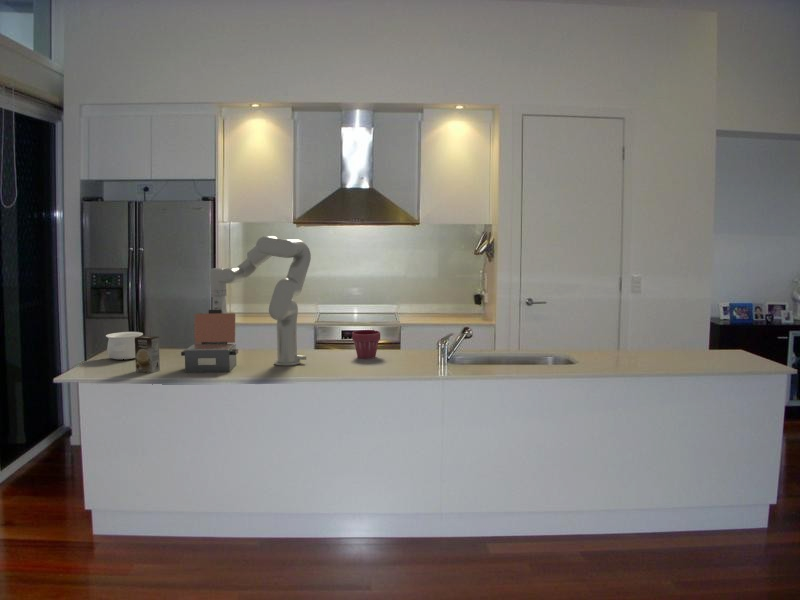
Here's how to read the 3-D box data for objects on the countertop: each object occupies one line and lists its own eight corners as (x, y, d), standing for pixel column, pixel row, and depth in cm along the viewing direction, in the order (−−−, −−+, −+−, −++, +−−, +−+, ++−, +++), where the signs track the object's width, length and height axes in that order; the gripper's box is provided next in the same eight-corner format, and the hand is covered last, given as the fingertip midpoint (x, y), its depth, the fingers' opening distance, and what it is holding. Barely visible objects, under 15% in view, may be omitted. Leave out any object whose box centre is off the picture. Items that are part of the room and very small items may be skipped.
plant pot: (368, 360, 343) (367, 335, 341) (346, 357, 351) (346, 332, 350) (386, 356, 354) (386, 331, 353) (364, 353, 362) (364, 329, 361)
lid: (234, 343, 333) (235, 343, 335) (234, 309, 334) (235, 309, 337) (194, 344, 332) (195, 344, 335) (194, 309, 333) (196, 310, 336)
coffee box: (135, 372, 319) (133, 337, 317) (143, 369, 325) (142, 335, 323) (152, 373, 317) (150, 338, 315) (160, 370, 323) (159, 336, 321)
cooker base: (241, 364, 334) (240, 343, 333) (234, 372, 318) (234, 349, 317) (189, 365, 333) (188, 343, 332) (179, 372, 317) (178, 350, 316)
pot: (136, 362, 342) (135, 337, 341) (100, 363, 341) (99, 338, 340) (149, 354, 364) (148, 331, 363) (115, 354, 363) (113, 331, 361)
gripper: (222, 294, 335) (224, 332, 337) (229, 291, 350) (230, 328, 352) (207, 294, 335) (208, 332, 337) (214, 291, 349) (215, 328, 351)
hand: (219, 330), depth 344 cm, fingers closed
